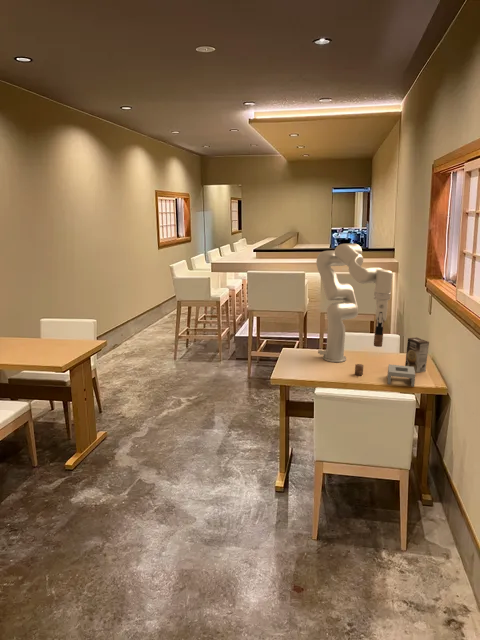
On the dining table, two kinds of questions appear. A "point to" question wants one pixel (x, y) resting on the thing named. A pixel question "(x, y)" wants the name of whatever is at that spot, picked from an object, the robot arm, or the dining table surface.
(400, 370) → the bridge
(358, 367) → the short pin
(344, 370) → the dining table surface
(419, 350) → the coffee box
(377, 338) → the long pin
